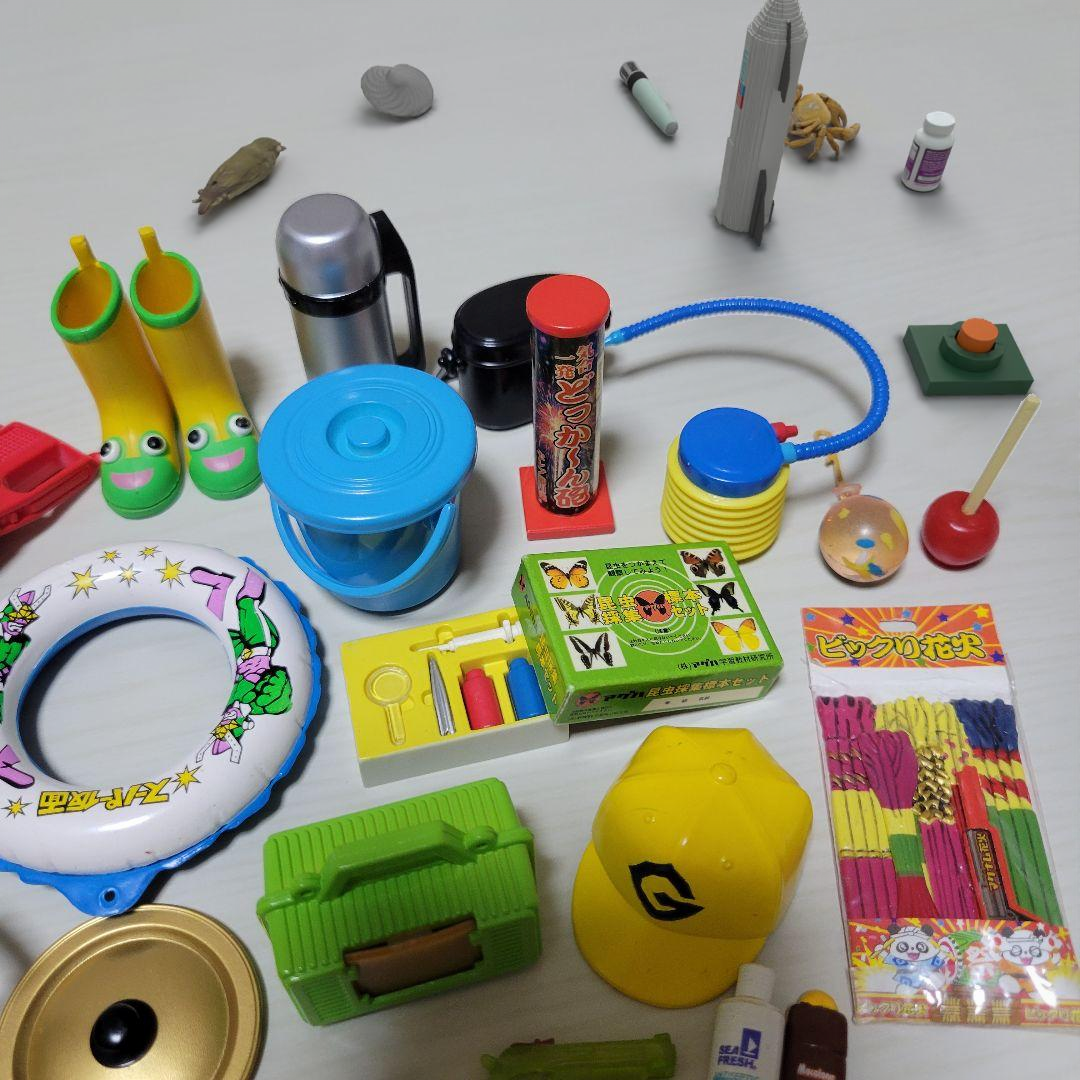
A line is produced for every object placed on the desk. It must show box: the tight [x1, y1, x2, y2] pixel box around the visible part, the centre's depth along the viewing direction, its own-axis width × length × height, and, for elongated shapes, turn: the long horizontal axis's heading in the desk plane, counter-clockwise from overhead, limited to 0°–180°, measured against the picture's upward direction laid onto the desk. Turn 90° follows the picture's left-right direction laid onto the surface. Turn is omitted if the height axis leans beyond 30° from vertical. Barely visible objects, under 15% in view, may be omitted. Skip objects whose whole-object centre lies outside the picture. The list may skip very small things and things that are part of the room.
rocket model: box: [714, 0, 809, 248], centre depth 120 cm, size 14×7×30 cm, turn 11°
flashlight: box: [618, 60, 679, 137], centre depth 149 cm, size 3×4×20 cm
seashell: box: [360, 63, 434, 119], centre depth 149 cm, size 12×6×10 cm
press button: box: [956, 317, 998, 353], centre depth 110 cm, size 4×4×2 cm
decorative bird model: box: [191, 136, 287, 216], centre depth 135 cm, size 5×20×5 cm, turn 151°
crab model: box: [784, 82, 861, 161], centre depth 143 cm, size 16×13×6 cm
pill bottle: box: [901, 111, 956, 192], centre depth 133 cm, size 5×5×10 cm
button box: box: [903, 320, 1035, 397], centre depth 112 cm, size 12×10×4 cm
